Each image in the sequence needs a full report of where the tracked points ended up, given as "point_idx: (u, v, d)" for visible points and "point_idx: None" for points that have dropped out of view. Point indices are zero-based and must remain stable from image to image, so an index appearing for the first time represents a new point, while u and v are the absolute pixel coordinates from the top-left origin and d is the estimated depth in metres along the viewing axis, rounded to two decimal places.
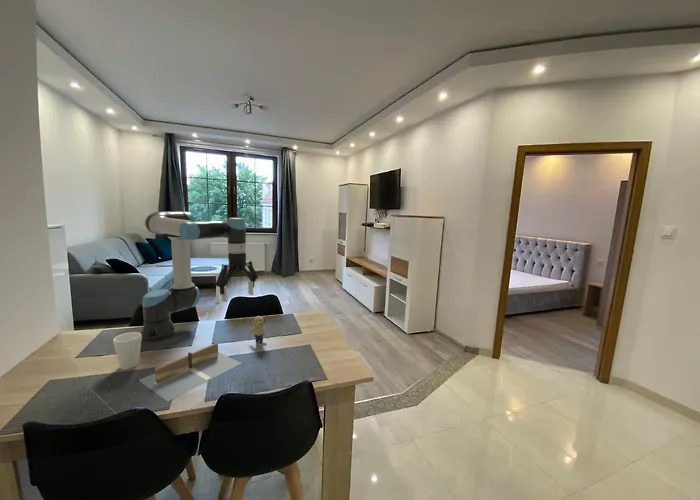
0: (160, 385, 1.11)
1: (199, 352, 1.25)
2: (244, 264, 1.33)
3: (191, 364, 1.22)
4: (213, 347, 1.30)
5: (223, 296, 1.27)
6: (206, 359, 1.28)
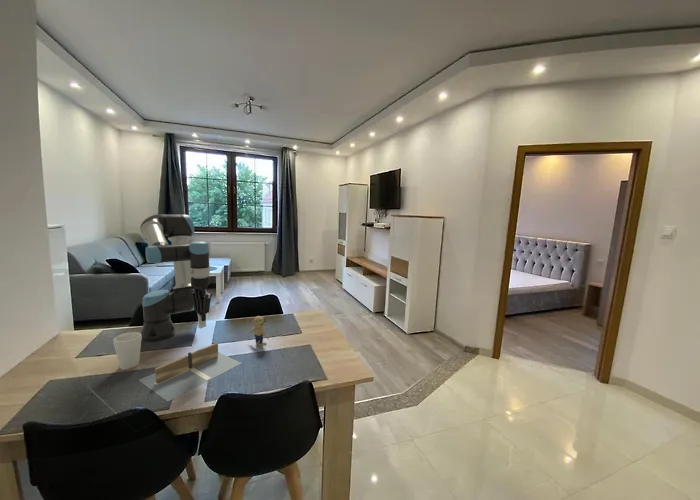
0: (160, 385, 1.11)
1: (199, 352, 1.25)
2: (202, 290, 1.26)
3: (191, 364, 1.22)
4: (213, 347, 1.30)
5: None
6: (206, 359, 1.28)
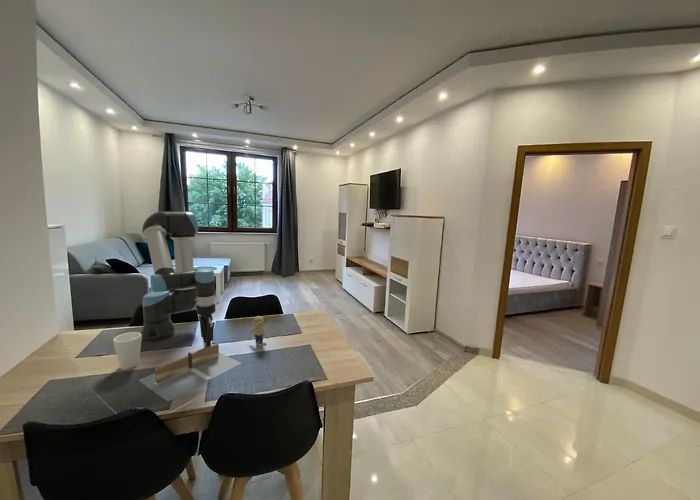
0: (160, 385, 1.11)
1: (199, 352, 1.24)
2: (206, 319, 1.26)
3: (191, 364, 1.22)
4: (214, 347, 1.30)
5: None
6: (206, 359, 1.28)
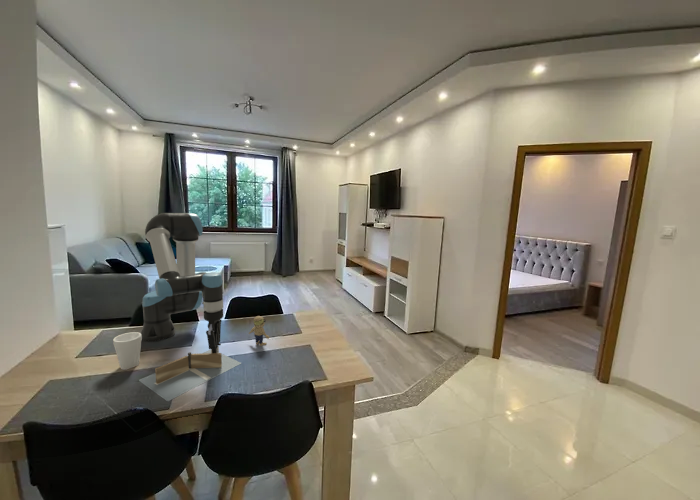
0: (160, 385, 1.11)
1: (199, 356, 1.21)
2: None
3: (190, 365, 1.22)
4: (215, 356, 1.22)
5: None
6: (206, 366, 1.23)
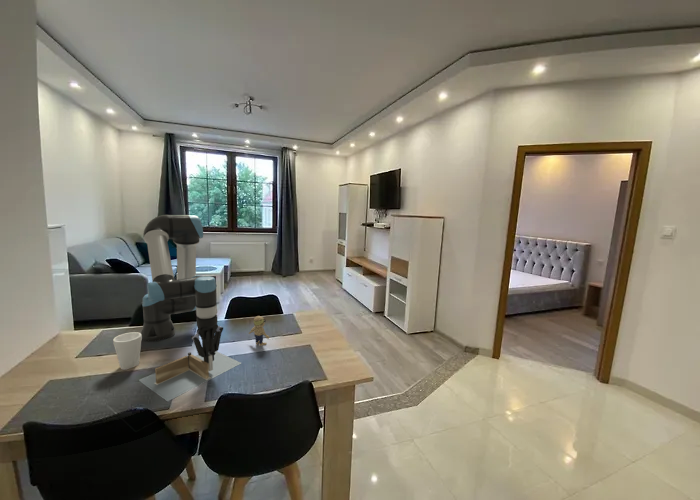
0: (160, 385, 1.11)
1: (193, 359, 1.19)
2: None
3: (189, 365, 1.22)
4: (202, 365, 1.16)
5: None
6: (197, 372, 1.18)
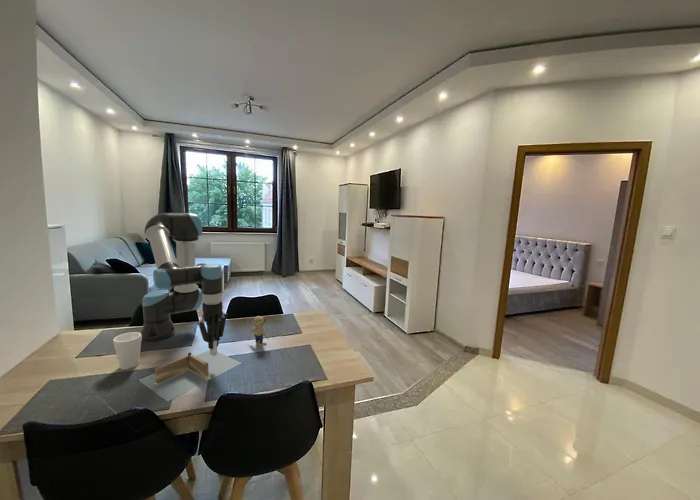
0: (160, 385, 1.11)
1: (193, 359, 1.19)
2: None
3: (189, 365, 1.22)
4: (202, 365, 1.16)
5: None
6: (197, 372, 1.18)
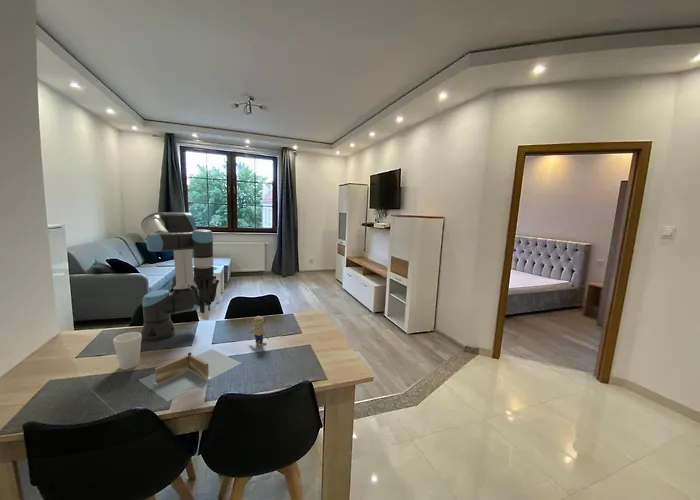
0: (160, 385, 1.11)
1: (193, 359, 1.19)
2: None
3: (189, 365, 1.22)
4: (202, 365, 1.16)
5: None
6: (197, 372, 1.18)
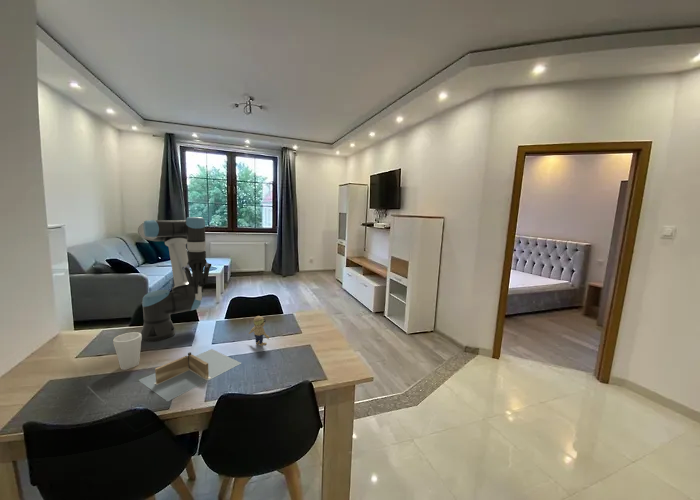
0: (160, 385, 1.11)
1: (193, 359, 1.19)
2: None
3: (189, 365, 1.22)
4: (202, 365, 1.16)
5: None
6: (197, 372, 1.18)
